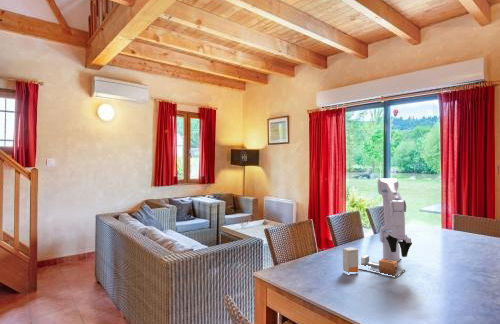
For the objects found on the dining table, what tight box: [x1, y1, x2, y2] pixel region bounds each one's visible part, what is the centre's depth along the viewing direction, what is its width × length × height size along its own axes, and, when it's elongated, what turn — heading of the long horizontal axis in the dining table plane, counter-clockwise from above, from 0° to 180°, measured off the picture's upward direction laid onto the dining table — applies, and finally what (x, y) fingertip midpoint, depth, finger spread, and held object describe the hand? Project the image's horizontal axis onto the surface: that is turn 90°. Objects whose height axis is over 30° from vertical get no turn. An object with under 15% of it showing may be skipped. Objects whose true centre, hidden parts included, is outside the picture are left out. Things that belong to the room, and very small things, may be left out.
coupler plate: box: [360, 254, 406, 278], centre depth 148 cm, size 12×19×5 cm, turn 45°
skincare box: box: [342, 246, 359, 273], centre depth 144 cm, size 6×4×12 cm
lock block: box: [378, 257, 399, 273], centre depth 145 cm, size 7×5×4 cm, turn 45°
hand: (398, 254), depth 141 cm, fingers open, 7 cm apart
